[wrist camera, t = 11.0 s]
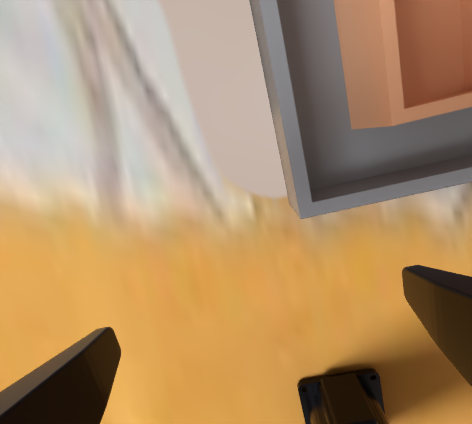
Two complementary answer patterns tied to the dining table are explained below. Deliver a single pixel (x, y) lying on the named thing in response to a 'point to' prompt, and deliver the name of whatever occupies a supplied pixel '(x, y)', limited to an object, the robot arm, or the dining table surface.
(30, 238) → the dining table surface
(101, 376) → the robot arm
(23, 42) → the dining table surface
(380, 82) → the small crate
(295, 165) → the big crate
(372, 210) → the dining table surface
